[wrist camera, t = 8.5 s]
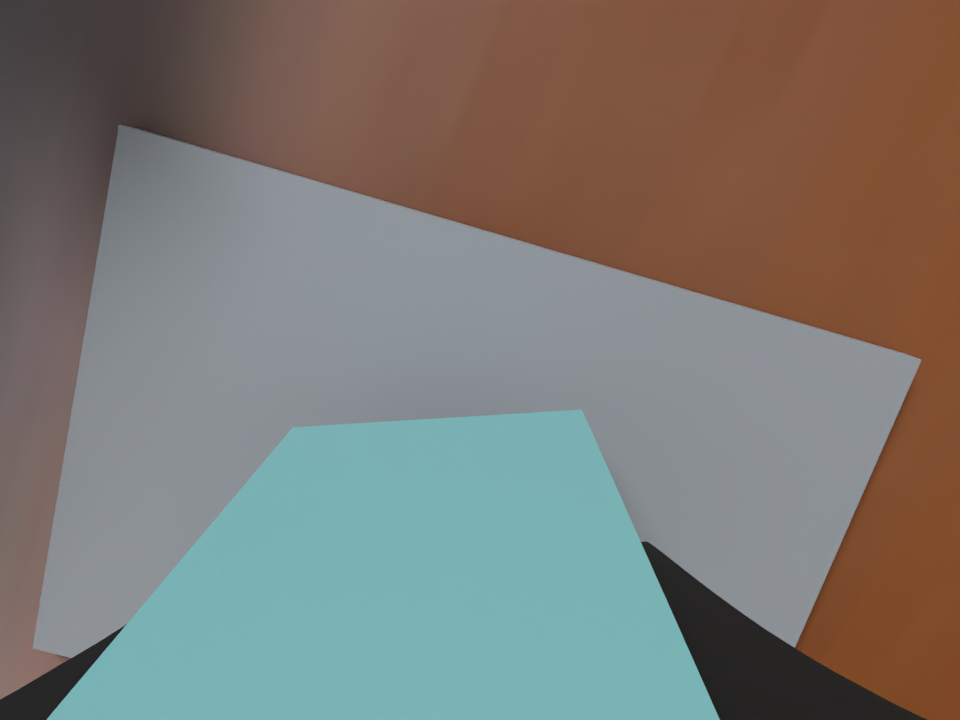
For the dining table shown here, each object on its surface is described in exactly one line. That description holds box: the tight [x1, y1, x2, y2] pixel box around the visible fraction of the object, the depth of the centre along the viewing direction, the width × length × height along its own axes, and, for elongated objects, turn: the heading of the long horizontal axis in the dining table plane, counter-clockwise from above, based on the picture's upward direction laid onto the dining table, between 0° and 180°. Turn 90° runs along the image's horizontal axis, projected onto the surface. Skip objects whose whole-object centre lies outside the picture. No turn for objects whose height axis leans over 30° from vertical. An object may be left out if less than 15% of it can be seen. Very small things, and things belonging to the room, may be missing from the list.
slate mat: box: [32, 125, 921, 658], centre depth 13 cm, size 14×10×1 cm
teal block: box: [47, 410, 720, 720], centre depth 8 cm, size 4×4×7 cm
